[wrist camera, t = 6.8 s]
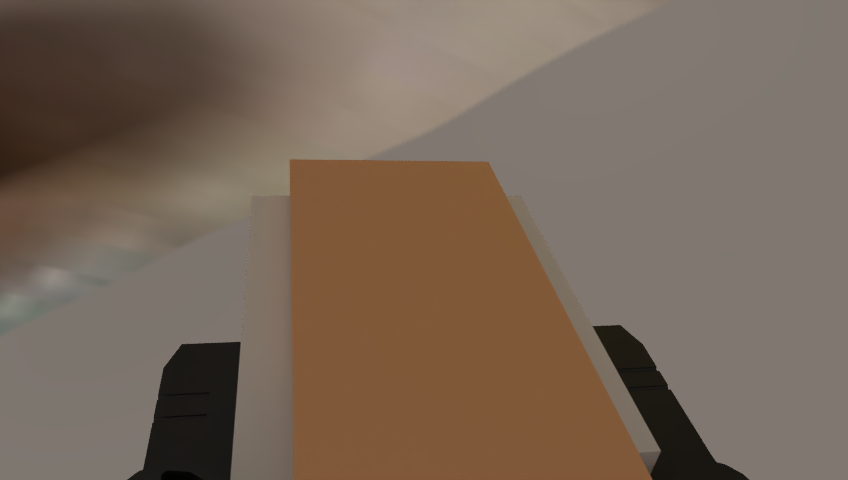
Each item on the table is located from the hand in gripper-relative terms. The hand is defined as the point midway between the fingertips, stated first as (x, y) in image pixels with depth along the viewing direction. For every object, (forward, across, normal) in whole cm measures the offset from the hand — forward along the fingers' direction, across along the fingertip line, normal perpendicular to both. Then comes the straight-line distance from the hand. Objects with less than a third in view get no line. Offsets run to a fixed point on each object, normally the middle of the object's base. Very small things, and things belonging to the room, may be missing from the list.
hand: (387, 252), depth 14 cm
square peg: (0, 0, 0) cm, 0 cm away
